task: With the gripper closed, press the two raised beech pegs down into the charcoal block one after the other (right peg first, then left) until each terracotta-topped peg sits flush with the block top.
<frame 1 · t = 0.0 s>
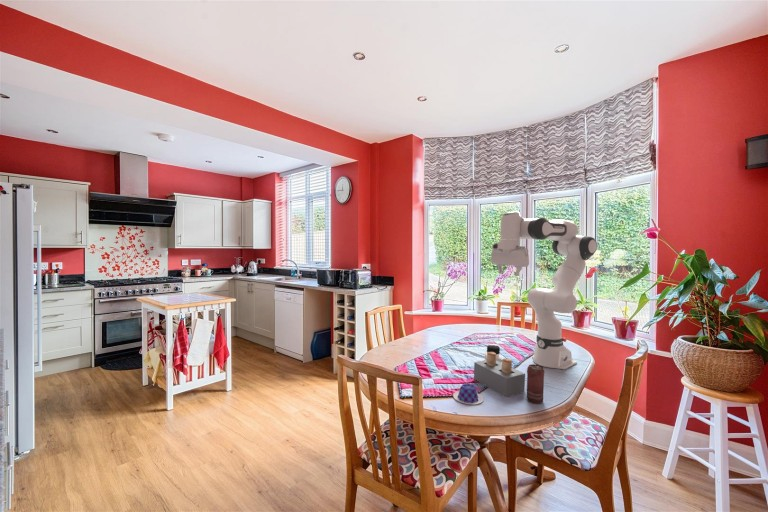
hand: (508, 274, 158), 48 cm above the table, fingers open, 8 cm apart
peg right: (491, 361, 151), point 9 cm above the table, slide at 0.0 cm
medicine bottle: (492, 369, 165), on the table
peg left: (506, 368, 142), point 9 cm above the table, slide at 0.0 cm
block: (498, 385, 147), on the table
can: (534, 401, 134), on the table
pudding: (468, 399, 135), on the table
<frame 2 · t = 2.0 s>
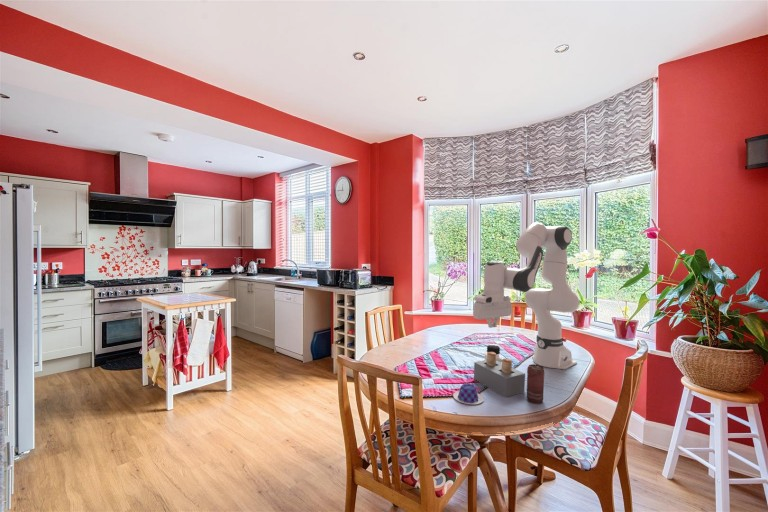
hand: (492, 327, 150), 25 cm above the table, fingers closed
nothing on the table moved.
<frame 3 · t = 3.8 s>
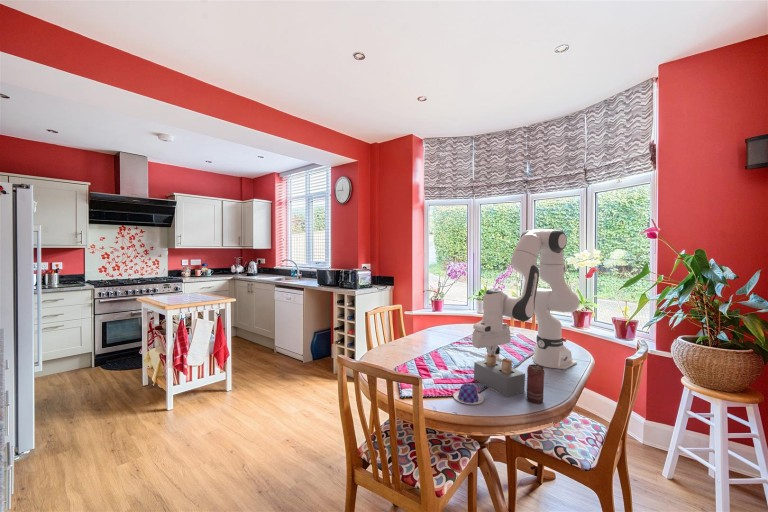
hand: (491, 355, 150), 12 cm above the table, fingers closed, pressing on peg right
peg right: (491, 363, 151), point 8 cm above the table, slide at 0.8 cm, touching gripper
everything else where it was.
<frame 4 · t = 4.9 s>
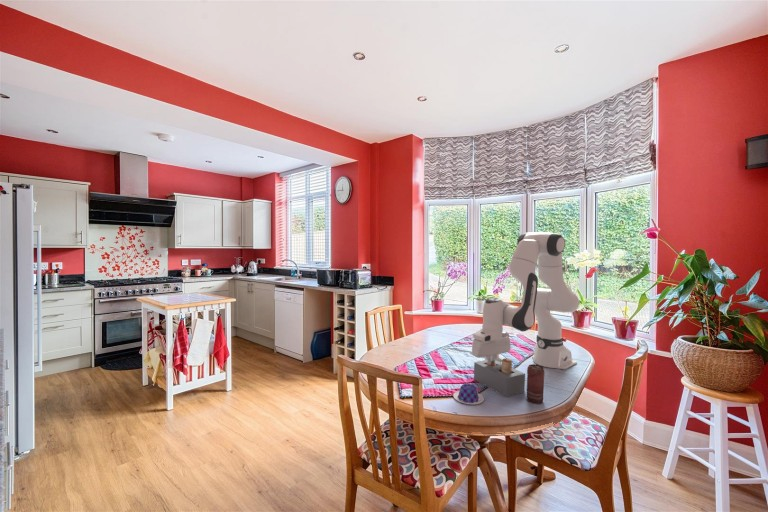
hand: (491, 363, 151), 8 cm above the table, fingers closed, pressing on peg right
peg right: (491, 371, 151), point 4 cm above the table, slide at 4.9 cm, touching gripper
everything else where it was.
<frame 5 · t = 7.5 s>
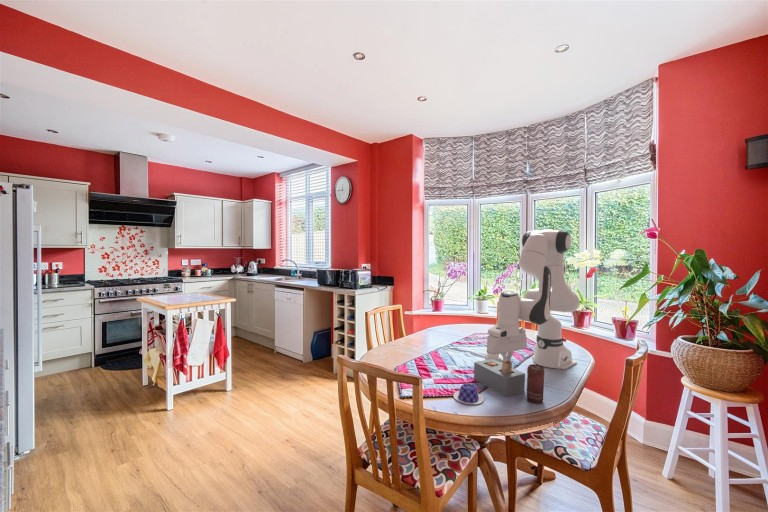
hand: (506, 361, 142), 12 cm above the table, fingers closed, pressing on peg left
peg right: (491, 371, 151), point 4 cm above the table, slide at 4.9 cm
peg left: (506, 369, 143), point 9 cm above the table, slide at 0.6 cm, touching gripper
everything else where it was.
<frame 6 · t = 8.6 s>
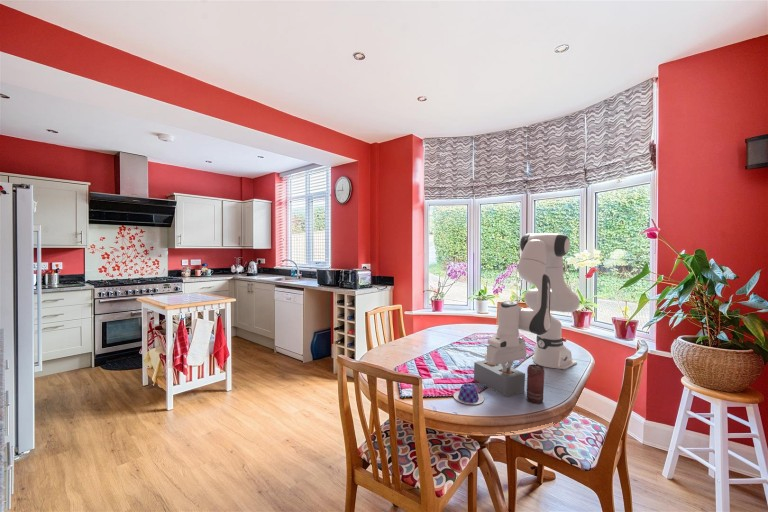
hand: (506, 371, 142), 8 cm above the table, fingers closed, pressing on peg left
peg left: (506, 379, 143), point 4 cm above the table, slide at 4.8 cm, touching gripper
everything else where it was.
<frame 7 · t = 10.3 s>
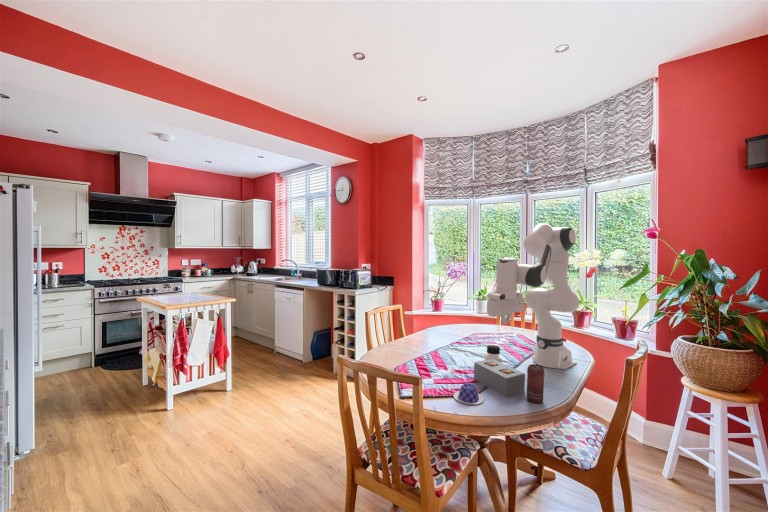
hand: (505, 323, 151), 27 cm above the table, fingers closed
peg left: (506, 379, 143), point 4 cm above the table, slide at 4.9 cm
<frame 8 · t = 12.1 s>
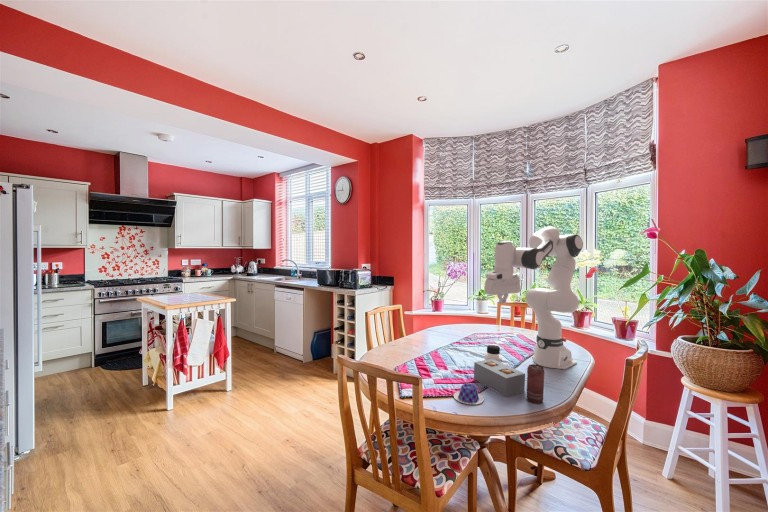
hand: (502, 303, 160), 34 cm above the table, fingers closed
at the end: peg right slide at 4.9 cm; peg left slide at 4.9 cm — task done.
